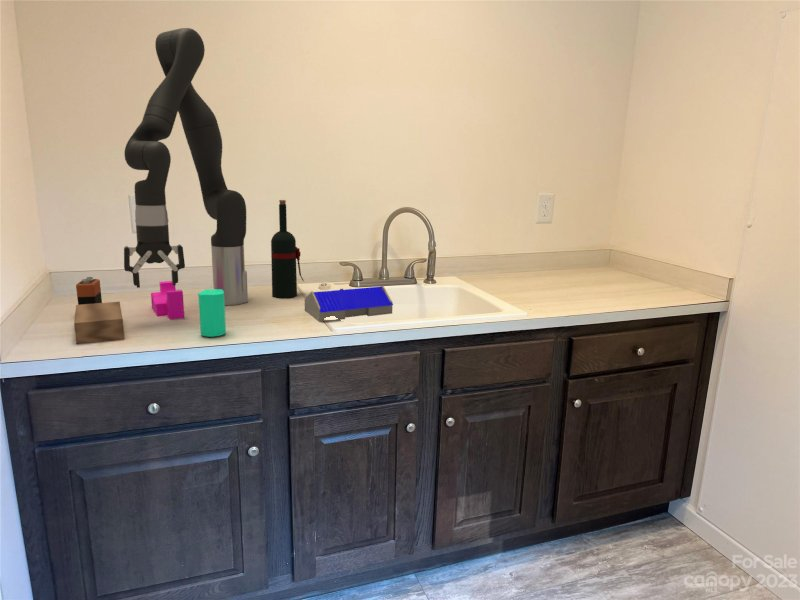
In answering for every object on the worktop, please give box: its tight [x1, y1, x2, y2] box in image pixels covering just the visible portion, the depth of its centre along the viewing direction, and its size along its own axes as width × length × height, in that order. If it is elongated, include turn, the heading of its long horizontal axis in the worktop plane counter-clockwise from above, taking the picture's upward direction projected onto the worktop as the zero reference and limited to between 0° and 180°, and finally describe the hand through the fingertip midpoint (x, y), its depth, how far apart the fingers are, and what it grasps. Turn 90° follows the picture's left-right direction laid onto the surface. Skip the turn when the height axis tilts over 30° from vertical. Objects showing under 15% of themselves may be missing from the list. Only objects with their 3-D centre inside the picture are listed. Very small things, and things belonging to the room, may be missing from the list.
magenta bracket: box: [150, 280, 186, 320], centre depth 161 cm, size 15×6×8 cm, turn 30°
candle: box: [197, 288, 227, 337], centre depth 143 cm, size 6×6×12 cm
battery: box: [75, 276, 103, 305], centre depth 157 cm, size 4×7×10 cm, turn 13°
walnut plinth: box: [73, 301, 125, 345], centre depth 143 cm, size 10×18×5 cm, turn 27°
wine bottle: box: [270, 199, 305, 300], centre depth 180 cm, size 8×10×30 cm
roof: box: [303, 285, 394, 323], centre depth 166 cm, size 22×14×7 cm, turn 118°
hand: (156, 286), depth 150 cm, fingers open, 8 cm apart
